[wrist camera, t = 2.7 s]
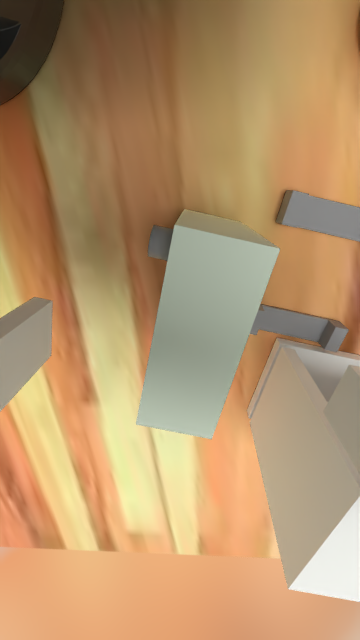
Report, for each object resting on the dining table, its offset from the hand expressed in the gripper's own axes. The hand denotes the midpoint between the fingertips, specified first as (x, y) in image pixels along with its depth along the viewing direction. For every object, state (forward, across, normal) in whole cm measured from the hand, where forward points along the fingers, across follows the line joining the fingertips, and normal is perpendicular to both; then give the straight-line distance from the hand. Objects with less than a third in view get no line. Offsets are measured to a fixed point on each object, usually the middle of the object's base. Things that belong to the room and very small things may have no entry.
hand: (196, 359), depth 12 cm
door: (+10, 0, 0) cm, 10 cm away
